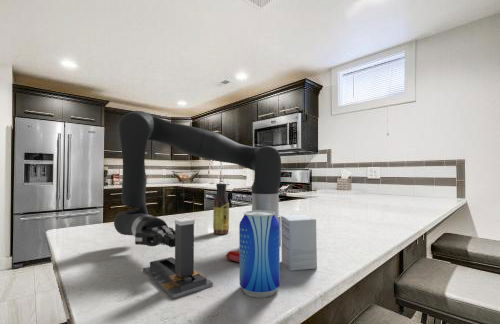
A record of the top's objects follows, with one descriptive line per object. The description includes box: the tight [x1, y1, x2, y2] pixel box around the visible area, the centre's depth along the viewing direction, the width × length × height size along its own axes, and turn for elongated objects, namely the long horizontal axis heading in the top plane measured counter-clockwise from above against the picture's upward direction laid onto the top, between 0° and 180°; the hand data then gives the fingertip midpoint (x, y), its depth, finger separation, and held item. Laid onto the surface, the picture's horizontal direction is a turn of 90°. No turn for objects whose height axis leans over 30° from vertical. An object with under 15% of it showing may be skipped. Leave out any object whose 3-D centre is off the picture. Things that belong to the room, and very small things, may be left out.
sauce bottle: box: [212, 183, 230, 235], centre depth 104 cm, size 7×6×20 cm
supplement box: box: [280, 214, 318, 272], centre depth 68 cm, size 7×7×13 cm
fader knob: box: [174, 217, 196, 282], centre depth 57 cm, size 4×3×13 cm
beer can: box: [238, 210, 281, 298], centre depth 54 cm, size 8×8×16 cm
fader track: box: [142, 256, 214, 300], centre depth 60 cm, size 18×9×2 cm, turn 40°
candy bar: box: [225, 250, 240, 263], centre depth 69 cm, size 16×4×3 cm, turn 58°
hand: (174, 242), depth 59 cm, fingers closed
